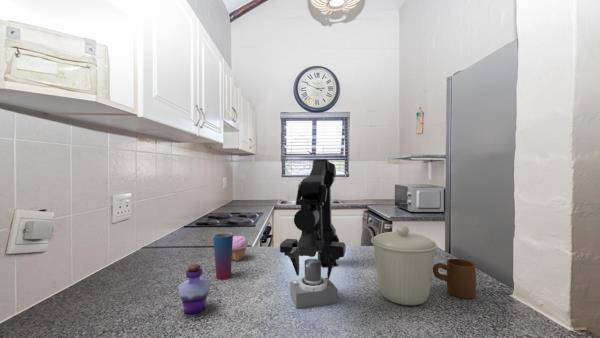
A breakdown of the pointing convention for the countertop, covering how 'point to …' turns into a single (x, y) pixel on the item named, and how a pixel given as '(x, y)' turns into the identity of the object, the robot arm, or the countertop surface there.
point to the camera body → (312, 293)
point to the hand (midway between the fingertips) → (312, 276)
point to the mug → (458, 277)
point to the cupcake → (238, 247)
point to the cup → (223, 254)
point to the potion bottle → (194, 290)
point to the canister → (404, 265)
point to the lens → (312, 272)
